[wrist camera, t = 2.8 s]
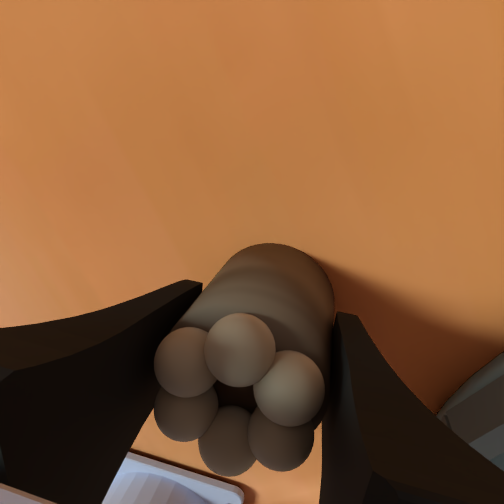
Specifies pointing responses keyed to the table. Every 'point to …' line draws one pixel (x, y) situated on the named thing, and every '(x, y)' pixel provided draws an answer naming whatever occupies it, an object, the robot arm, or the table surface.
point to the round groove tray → (480, 411)
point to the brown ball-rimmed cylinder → (250, 362)
